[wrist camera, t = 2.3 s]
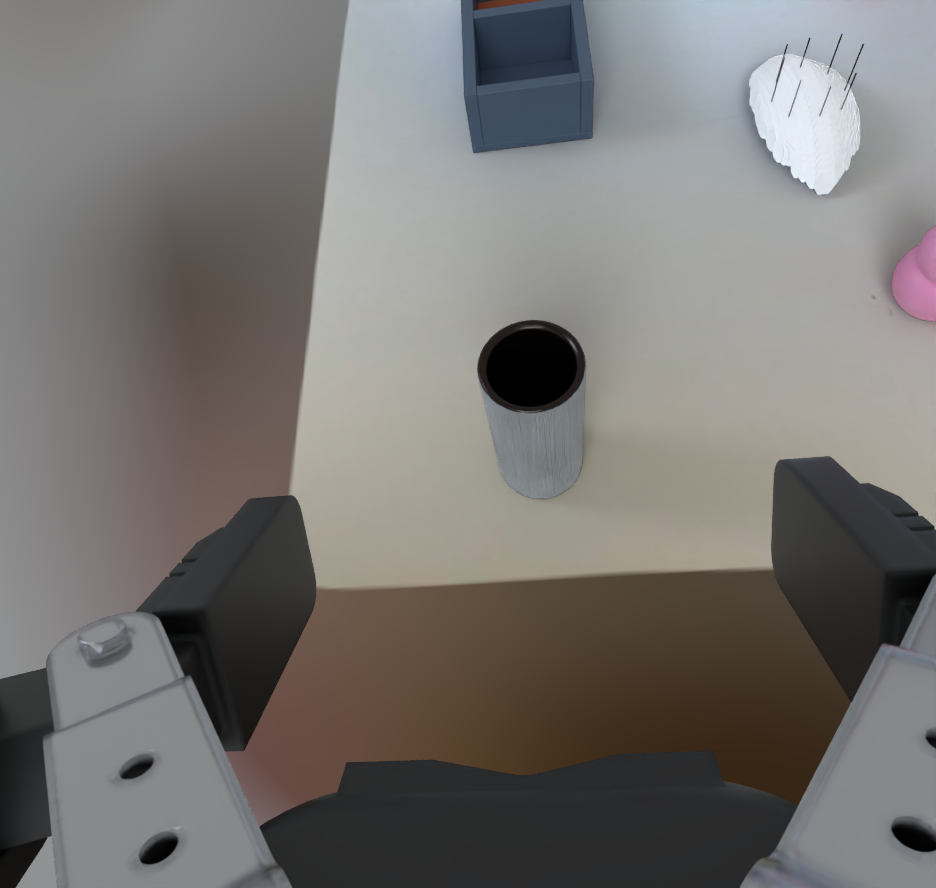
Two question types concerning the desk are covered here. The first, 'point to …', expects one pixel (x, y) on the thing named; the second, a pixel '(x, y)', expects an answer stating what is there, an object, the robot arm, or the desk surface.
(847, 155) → the pincushion
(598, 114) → the desk surface
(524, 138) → the sorter
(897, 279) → the dog chew toy
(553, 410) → the planter
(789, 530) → the robot arm
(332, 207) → the desk surface
